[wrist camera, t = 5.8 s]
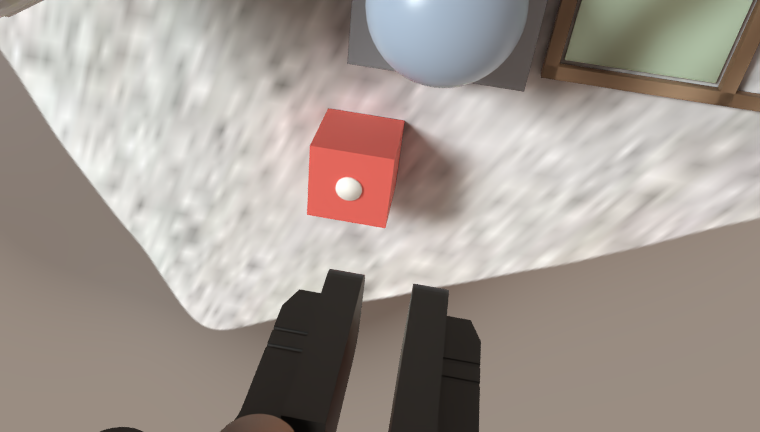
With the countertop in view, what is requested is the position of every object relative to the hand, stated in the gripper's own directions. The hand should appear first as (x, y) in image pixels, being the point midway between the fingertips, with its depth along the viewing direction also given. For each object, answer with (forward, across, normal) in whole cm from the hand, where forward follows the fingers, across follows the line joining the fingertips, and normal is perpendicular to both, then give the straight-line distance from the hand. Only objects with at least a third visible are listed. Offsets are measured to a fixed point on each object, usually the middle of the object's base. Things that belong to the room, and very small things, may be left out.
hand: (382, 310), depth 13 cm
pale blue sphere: (+26, 0, 0) cm, 26 cm away
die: (+27, +4, +12) cm, 30 cm away
